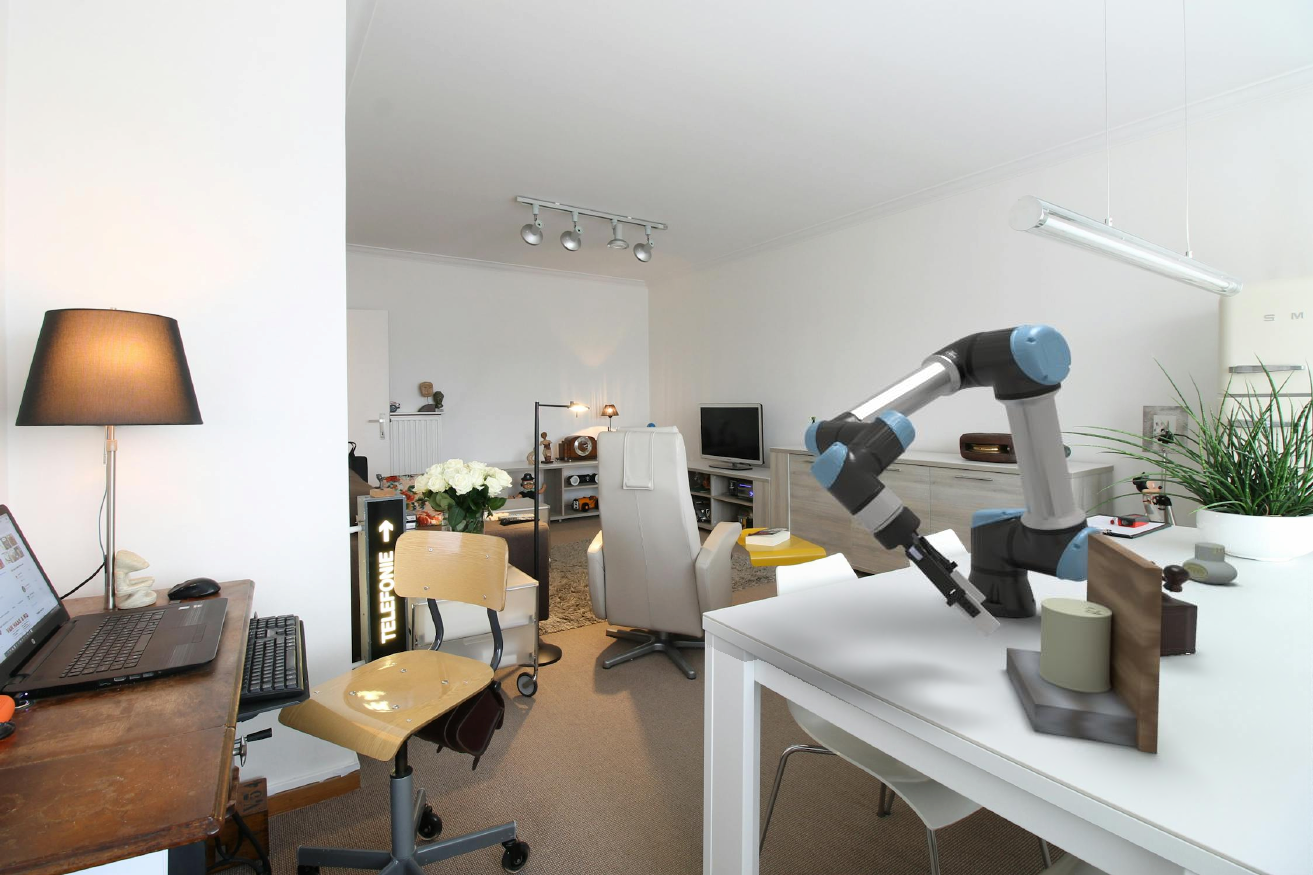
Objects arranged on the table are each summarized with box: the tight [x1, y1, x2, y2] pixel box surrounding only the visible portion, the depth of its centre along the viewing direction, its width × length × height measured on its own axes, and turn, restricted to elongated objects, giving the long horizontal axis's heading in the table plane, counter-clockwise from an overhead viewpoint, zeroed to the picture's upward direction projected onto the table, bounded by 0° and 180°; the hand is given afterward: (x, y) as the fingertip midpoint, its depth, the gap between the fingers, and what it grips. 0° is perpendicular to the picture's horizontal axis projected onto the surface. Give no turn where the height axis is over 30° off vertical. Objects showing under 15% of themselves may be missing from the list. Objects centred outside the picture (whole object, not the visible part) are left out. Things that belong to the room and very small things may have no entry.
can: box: [1039, 597, 1112, 693], centre depth 94 cm, size 9×9×12 cm
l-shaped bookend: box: [1006, 533, 1164, 754], centre depth 95 cm, size 14×24×25 cm, turn 159°
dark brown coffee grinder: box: [1149, 560, 1199, 657], centre depth 116 cm, size 16×11×18 cm
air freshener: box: [1181, 541, 1238, 585], centre depth 162 cm, size 11×8×10 cm
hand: (986, 615), depth 99 cm, fingers open, 13 cm apart
